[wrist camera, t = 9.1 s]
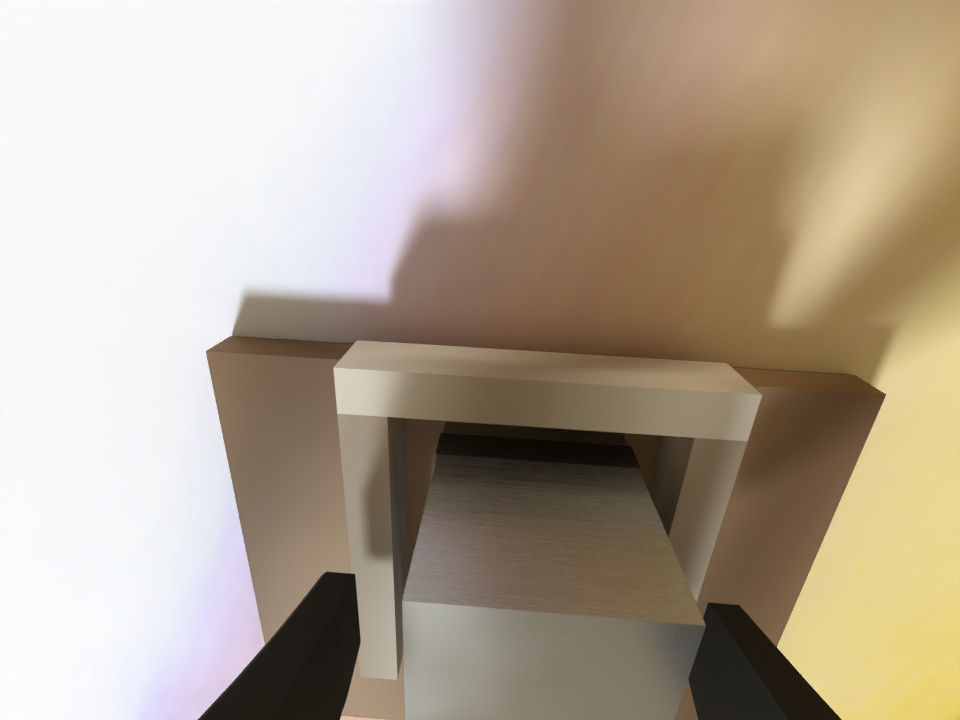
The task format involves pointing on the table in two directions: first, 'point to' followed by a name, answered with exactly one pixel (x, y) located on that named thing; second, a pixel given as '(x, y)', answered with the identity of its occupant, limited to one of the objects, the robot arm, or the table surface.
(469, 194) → the table surface
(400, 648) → the holder
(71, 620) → the table surface
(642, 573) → the block
